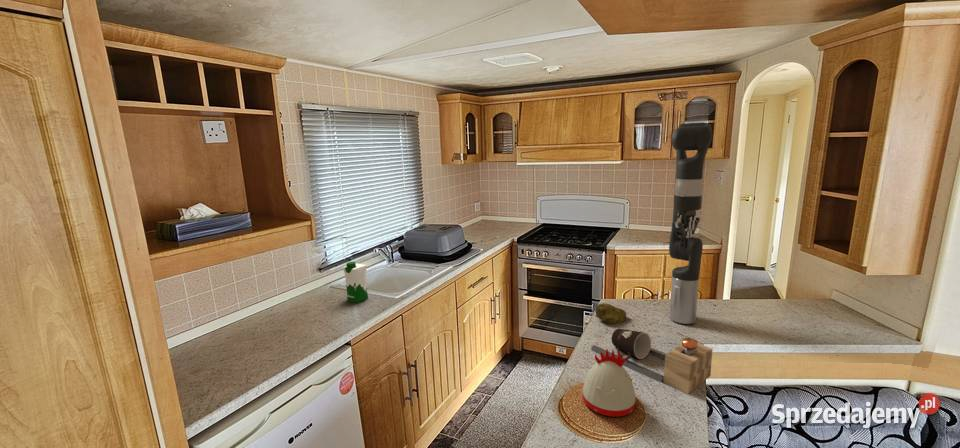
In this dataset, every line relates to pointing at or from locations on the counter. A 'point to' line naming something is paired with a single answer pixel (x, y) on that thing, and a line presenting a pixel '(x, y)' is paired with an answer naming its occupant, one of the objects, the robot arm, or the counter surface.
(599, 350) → the guide rails
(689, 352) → the button
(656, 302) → the counter surface
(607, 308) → the potato
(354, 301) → the milk carton
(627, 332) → the coffee mug
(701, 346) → the hollow wooden block stack
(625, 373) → the kitchen timer
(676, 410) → the counter surface
